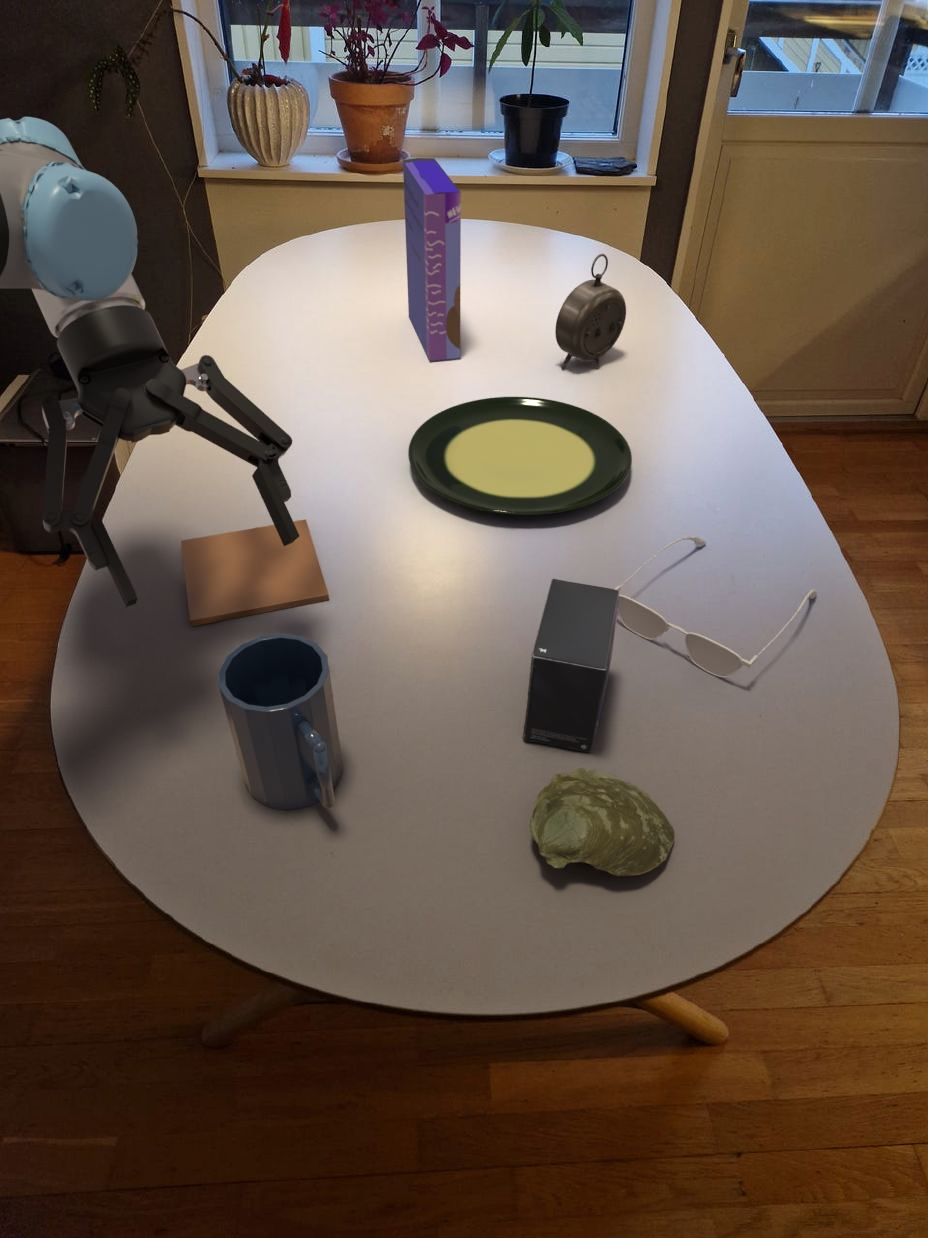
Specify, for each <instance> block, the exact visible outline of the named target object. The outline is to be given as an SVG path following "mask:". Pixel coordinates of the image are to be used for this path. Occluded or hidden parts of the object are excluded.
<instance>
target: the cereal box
mask: <svg viewBox="0 0 928 1238" xmlns="http://www.w3.org/2000/svg"><path fill="white" fill-rule="evenodd" d="M402 176H403V200H404V203H403V204H404V226H405V227H404V228H405V249H406V250H405V251H406V253H405V254H406V279H407V280H406V281H407V282H406V283H407V305H408V306H407V307H408V318H409V320H410V322H411V324H412V327H413V329H414V331H415V333H416V335H417V338H418V340H419V342H420V345H421V347H422V349H423V351H424V354H425V355H426V358H427V359H428V362H429V363H437V362H445V361H446V362H447V361H457V360H461V264H462V263H461V260H462V259H461V258H462V257H461V256H462V255H461V254H462V253H461V247H462V246H461V245H462V244H461V243H462V241H461V239H462V237H461V234H462V233H461V231H462V229H461V228H462V227H461V226H462V225H461V224H462V223H461V222H462V221H461V220H462V219H461V214H462V213H461V212H462V204H461V203H462V202H461V201H462V200H461V199H462V198H461V197H462V196H461V195H462V192H461V191H460V189H459V188H458V187H457V185H456V184H455V183H454V182H453V181H452V179H451V178H450V177H449V175H448V174H447V173H446V171H445V170H444V169H443V168H442V166H441V165H440V163H439V162H438V161H437V159H436V158H434V157H413V158H409V159H403V160H402Z"/></svg>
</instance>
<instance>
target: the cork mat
mask: <svg viewBox="0 0 928 1238" xmlns="http://www.w3.org/2000/svg"><path fill="white" fill-rule="evenodd" d="M293 522H294V525H295V527H296V529H297V531H298V533H299V537H298V538H297V539H296V540H295V541H294V542H293V543H291V544H289V545H286V546H284V545H283V543H282V541H281V539H280V536H279V534H278V532H277V530H276V528H275V525H274V524H271V525H264V526H260V527H259V526H258V527H251V528H246V529H240V530H235V531H229V532H223V533H217V534H212V535H206V536H200V537H195V538H187V539H181V540H180V543H181V544H180V545H181V553H182V554H181V555H182V561H183V570H184V579H185V588H186V597H187V607H188V615H189V623H190V626H191V627H196V626H202V625H207V624H212V623H217V622H222V621H227V620H232V619H238V618H243V617H249V616H253V615H258V614H264V613H269V612H274V611H280V610H285V609H289V608H295V607H300V606H304V605H310V604H316V603H320V602H326V601H330V597H329V596H330V595H329V591H328V588H327V584H326V582H325V578H324V575H323V572H322V568H321V564H320V562H319V558H318V555H317V551H316V547H315V545H314V541H313V539H312V534H311V532H310V528H309V525H308V522H307V519H306V518H305V519H300V520H293Z"/></svg>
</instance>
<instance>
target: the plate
mask: <svg viewBox="0 0 928 1238" xmlns="http://www.w3.org/2000/svg"><path fill="white" fill-rule="evenodd" d="M407 455H408V461H409V464H410V467H411V468H412V470H413V472H414V474H415V476H416V477H417V479H418V480H419V482H420V483H421V484H422V485H423V486H424V487H426V489H428V490H430V491H432V492H434V493H435V494H437V495H439V496H441V497H443V498H445V499H447V500H449V501H452V502H454V503H456V504H460V505H462V506H465V507H468V508H472V509H475V510H480V511H483V512H484V511H485V512H489V513H496V514H502V515H503V514H505V515H515V516H516V515H517V516H518V515H519V516H535V515H548V514H550V515H551V514H558V513H563V512H568V511H572V510H576V509H580V508H583V507H586V506H588V505H592V504H594V503H596V502H599V501H601V500H602V499H604V498H605V497H607V496H609V495H610V494H612V493H613V492H615V491H616V490H617V489H618V488H620V487H621V486H622V485H623V483H624V482H625V481H626V480H627V478H628V476H629V474H630V471H631V468H632V464H633V457H632V456H633V455H632V451H631V447H630V445H629V442H628V441H627V439H626V437H625V436H624V435H623V434H622V433H621V432H620V431H619V430H618V429H617V428H616V427H615V426H613V425H612V423H610V422H609V421H607V420H606V419H604V418H603V417H601V416H599V415H598V414H596V413H594V412H591V411H589V410H587V409H584V408H582V407H579V406H577V405H573V404H570V403H567V402H562V401H558V400H554V399H547V398H541V397H533V396H532V397H531V396H495V397H489V398H481V399H475V400H471V401H466V402H463V403H460V404H456V405H452V406H451V407H448V408H445V409H444V410H441V411H440V412H438V413H436V414H434V415H433V416H431V417H430V418H428V419H427V420H425V421H424V422H423V423H422V424H421V425H420V426H419V427H418V428H417V429H416V431H415V432H414V434H413V435H412V437H411V439H410V441H409V445H408V449H407Z"/></svg>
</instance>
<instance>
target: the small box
mask: <svg viewBox="0 0 928 1238" xmlns="http://www.w3.org/2000/svg"><path fill="white" fill-rule="evenodd" d="M619 595H620V591H618V590H615V588H610V587H604V586H597V585H591V584H586V583H579V582H574V581H568V580H564V579H563V580H562V579H558V578H552V579H551V581H550V585H549V588H548V593H547V596H546V600H545V604H544V607H543V611H542V615H541V619H540V623H539V626H538V630H537V633H536V638H535V640H534V645H533V649H532V652H531V653H532V654H531V658H530V671H529V678H528V679H529V682H528V689H527V690H528V691H527V700H526V701H527V703H526V710H525V717H524V718H525V719H524V724H523V732H522V740H524V741H526V742H532V743H538V744H543V745H549V746H552V747H558V748H563V749H567V750H571V751H577V752H583V753H591V751H592V749H593V745H594V742H595V738H596V735H597V730H598V726H599V722H600V717H601V712H602V709H603V708H602V707H603V704H604V697H605V693H606V687H607V683H608V678H609V673H610V667H611V662H612V657H613V651H614V643H615V635H616V628H617V618H618V599H619Z"/></svg>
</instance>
